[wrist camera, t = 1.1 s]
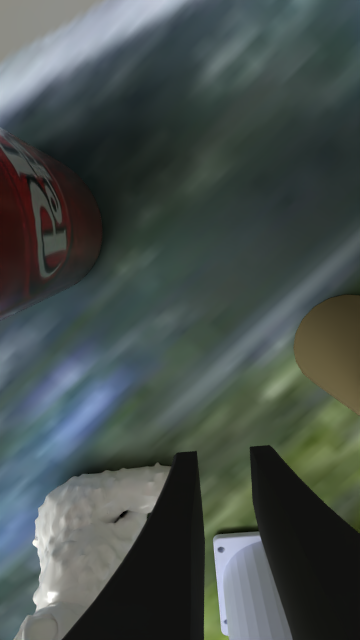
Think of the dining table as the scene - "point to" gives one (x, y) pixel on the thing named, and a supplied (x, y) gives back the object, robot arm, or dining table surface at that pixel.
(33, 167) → the soda can
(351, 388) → the pepper shaker
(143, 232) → the dining table surface
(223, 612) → the robot arm
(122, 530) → the sitting furry creature
